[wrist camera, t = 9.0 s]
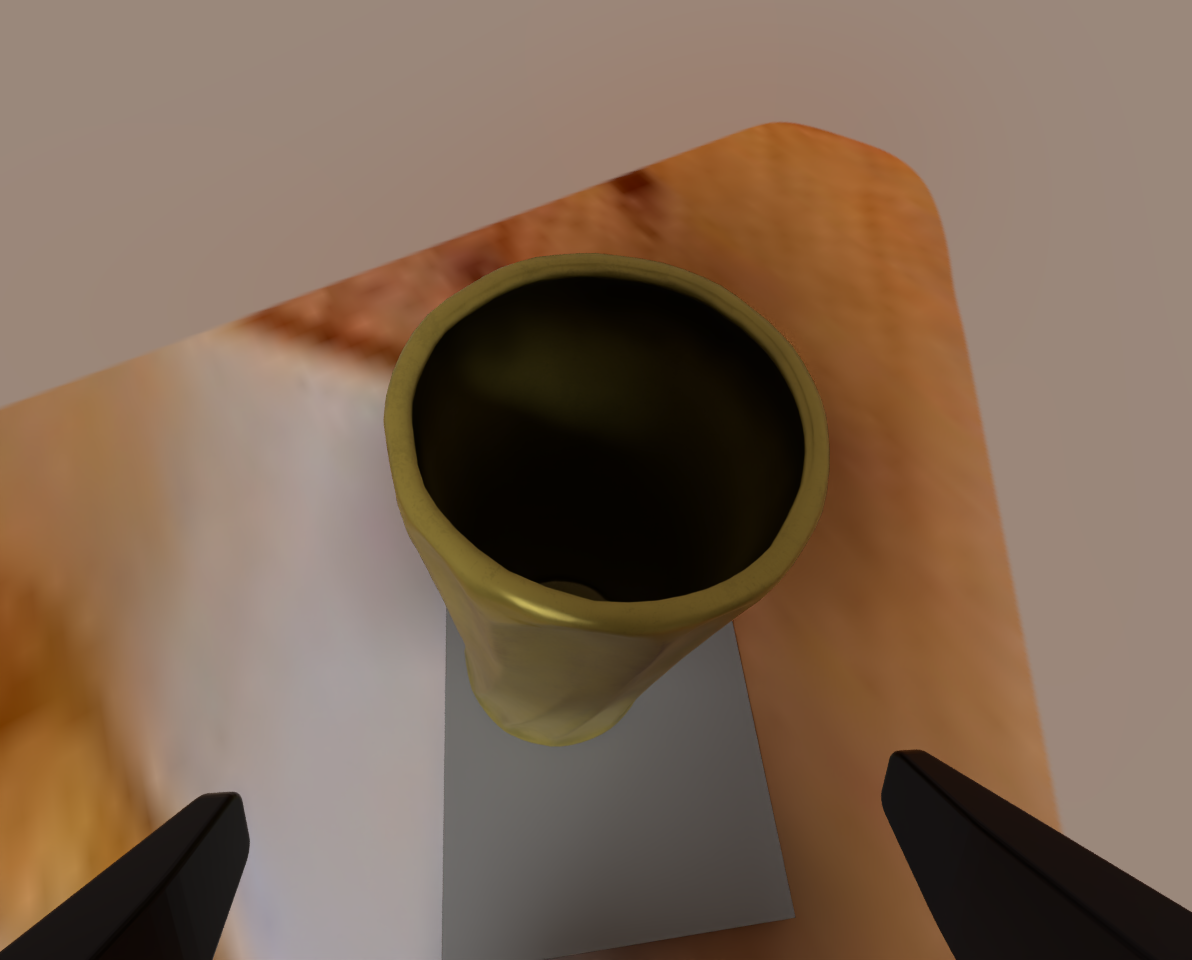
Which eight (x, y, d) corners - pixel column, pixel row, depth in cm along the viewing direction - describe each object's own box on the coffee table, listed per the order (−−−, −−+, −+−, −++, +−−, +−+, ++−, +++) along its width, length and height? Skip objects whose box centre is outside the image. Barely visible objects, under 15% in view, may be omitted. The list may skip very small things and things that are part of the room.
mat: (788, 913, 17) (795, 917, 16) (443, 971, 15) (441, 976, 15) (704, 514, 23) (708, 509, 22) (449, 528, 21) (447, 523, 21)
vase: (454, 580, 20) (325, 243, 7) (621, 547, 21) (761, 210, 8) (481, 769, 17) (352, 765, 5) (669, 719, 18) (976, 605, 6)
